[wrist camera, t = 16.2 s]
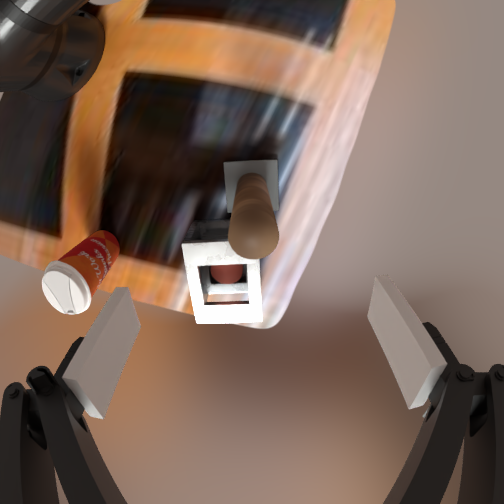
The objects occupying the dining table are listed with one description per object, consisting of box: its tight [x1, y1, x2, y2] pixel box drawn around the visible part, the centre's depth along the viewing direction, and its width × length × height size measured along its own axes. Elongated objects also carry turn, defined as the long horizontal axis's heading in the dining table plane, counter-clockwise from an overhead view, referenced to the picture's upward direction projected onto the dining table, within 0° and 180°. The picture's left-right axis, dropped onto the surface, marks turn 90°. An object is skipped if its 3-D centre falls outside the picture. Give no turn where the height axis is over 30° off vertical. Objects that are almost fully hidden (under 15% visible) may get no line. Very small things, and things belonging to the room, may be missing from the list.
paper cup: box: [42, 230, 120, 314], centre depth 36 cm, size 8×8×14 cm
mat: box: [224, 159, 279, 213], centre depth 39 cm, size 7×7×1 cm
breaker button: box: [211, 264, 243, 284], centre depth 41 cm, size 4×4×3 cm
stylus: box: [228, 173, 279, 259], centre depth 31 cm, size 4×4×17 cm
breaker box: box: [182, 218, 262, 323], centre depth 40 cm, size 12×9×8 cm
